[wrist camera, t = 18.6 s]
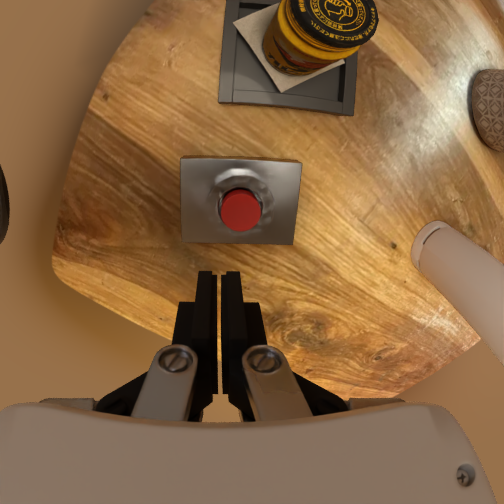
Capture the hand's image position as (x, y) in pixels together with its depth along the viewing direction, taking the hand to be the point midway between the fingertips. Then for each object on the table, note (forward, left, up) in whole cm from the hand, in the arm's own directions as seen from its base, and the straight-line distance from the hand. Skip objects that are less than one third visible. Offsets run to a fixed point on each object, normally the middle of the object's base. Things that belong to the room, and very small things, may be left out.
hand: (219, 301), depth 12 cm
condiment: (+5, +16, -17) cm, 24 cm away
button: (+2, -1, -17) cm, 17 cm away
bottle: (+30, -6, -20) cm, 36 cm away
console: (+2, -1, -20) cm, 20 cm away
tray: (+6, +15, -20) cm, 26 cm away
